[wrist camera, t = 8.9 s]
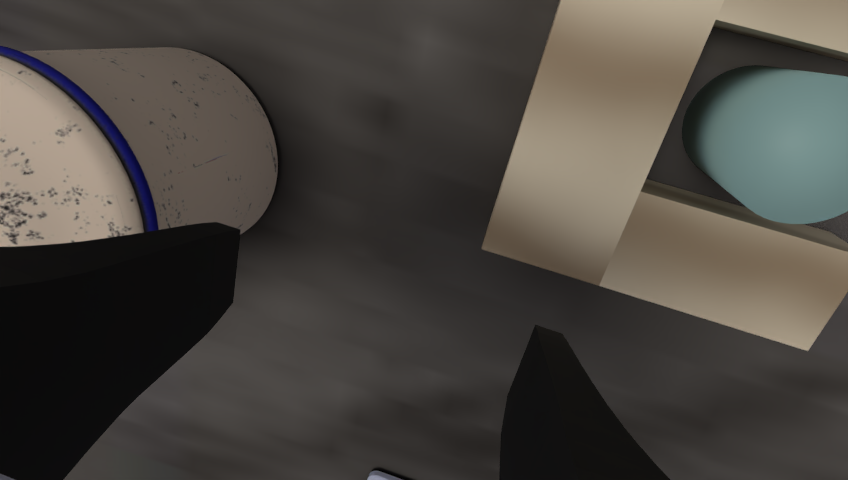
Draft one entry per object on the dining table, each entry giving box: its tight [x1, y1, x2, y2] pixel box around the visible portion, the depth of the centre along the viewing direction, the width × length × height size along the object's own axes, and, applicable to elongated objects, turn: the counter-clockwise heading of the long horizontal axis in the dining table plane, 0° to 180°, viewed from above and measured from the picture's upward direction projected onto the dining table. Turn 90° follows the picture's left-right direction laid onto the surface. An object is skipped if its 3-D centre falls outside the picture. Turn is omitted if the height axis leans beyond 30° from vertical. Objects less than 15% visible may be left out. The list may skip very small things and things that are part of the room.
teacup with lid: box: [0, 46, 278, 247], centre depth 19 cm, size 12×9×12 cm
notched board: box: [481, 0, 848, 351], centre depth 17 cm, size 13×12×2 cm
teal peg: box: [682, 65, 848, 224], centre depth 16 cm, size 4×4×5 cm
